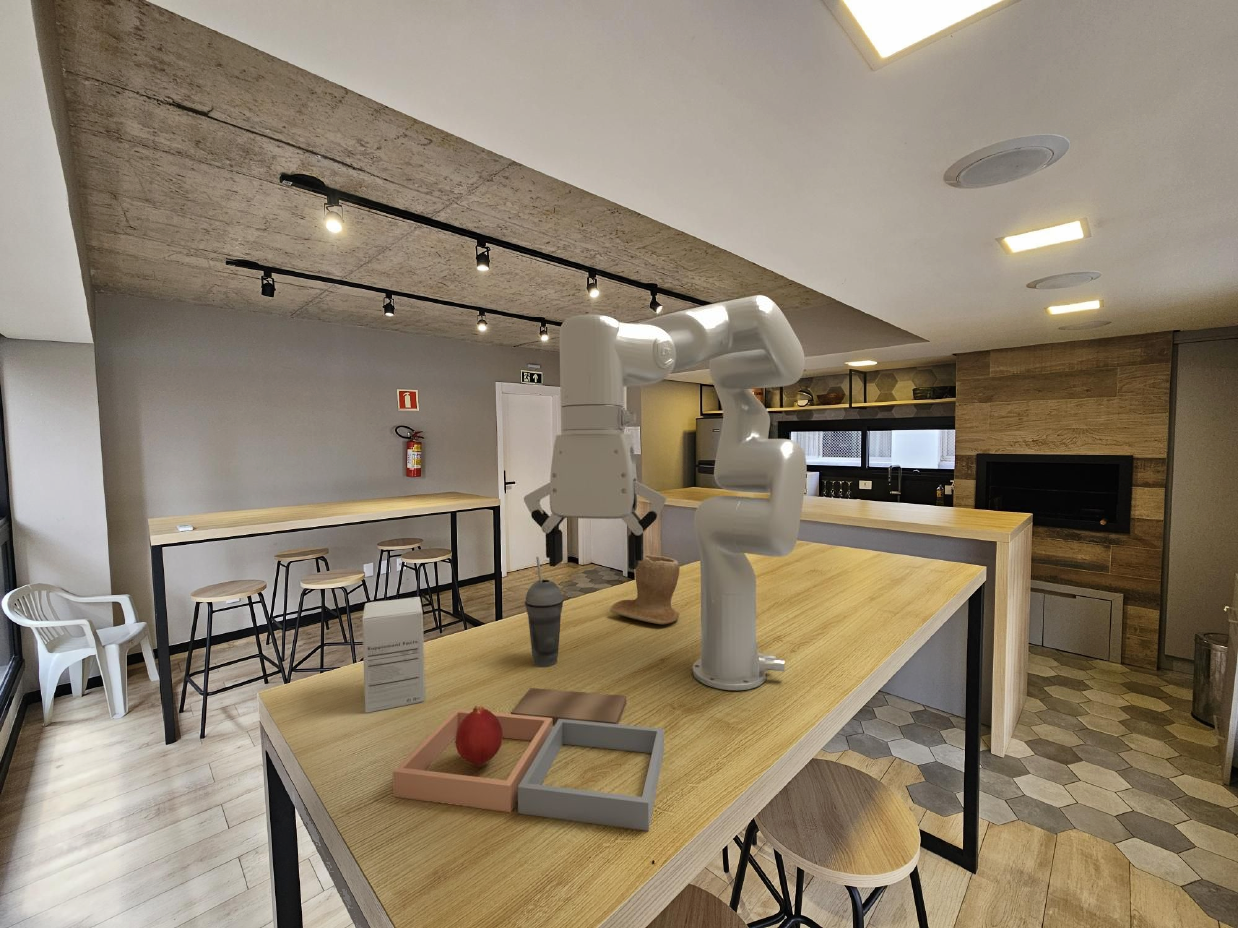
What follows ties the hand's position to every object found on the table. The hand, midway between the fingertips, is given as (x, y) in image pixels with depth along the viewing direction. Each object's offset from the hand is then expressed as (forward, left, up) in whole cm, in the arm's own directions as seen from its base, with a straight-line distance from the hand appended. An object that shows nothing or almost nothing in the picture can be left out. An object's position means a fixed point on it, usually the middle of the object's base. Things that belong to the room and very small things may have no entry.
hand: (594, 565), depth 62 cm
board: (+8, -15, -26) cm, 31 cm away
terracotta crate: (+15, 0, -26) cm, 31 cm away
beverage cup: (+18, -32, -26) cm, 45 cm away
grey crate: (0, 0, -26) cm, 26 cm away
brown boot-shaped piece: (+2, -60, -27) cm, 66 cm away
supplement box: (+38, -15, -27) cm, 49 cm away
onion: (+15, 0, -26) cm, 31 cm away
